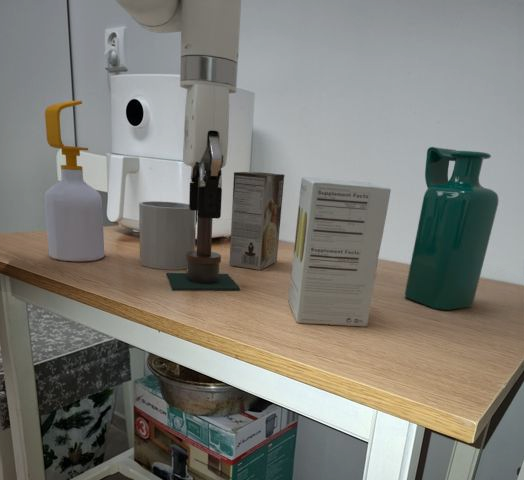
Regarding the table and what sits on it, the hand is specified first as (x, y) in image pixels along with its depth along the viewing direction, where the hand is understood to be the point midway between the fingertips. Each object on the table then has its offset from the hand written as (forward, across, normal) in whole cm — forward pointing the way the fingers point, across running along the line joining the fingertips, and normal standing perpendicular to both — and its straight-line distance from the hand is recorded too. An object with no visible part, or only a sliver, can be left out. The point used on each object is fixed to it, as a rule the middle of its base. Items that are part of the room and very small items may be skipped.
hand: (204, 213), depth 71 cm
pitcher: (+11, +10, +35) cm, 38 cm away
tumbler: (+10, -13, -4) cm, 17 cm away
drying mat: (+10, 0, 0) cm, 10 cm away
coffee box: (+11, -14, +12) cm, 21 cm away
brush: (+10, 0, 0) cm, 10 cm away
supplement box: (+11, +16, +14) cm, 24 cm away
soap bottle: (+11, -17, -19) cm, 28 cm away
